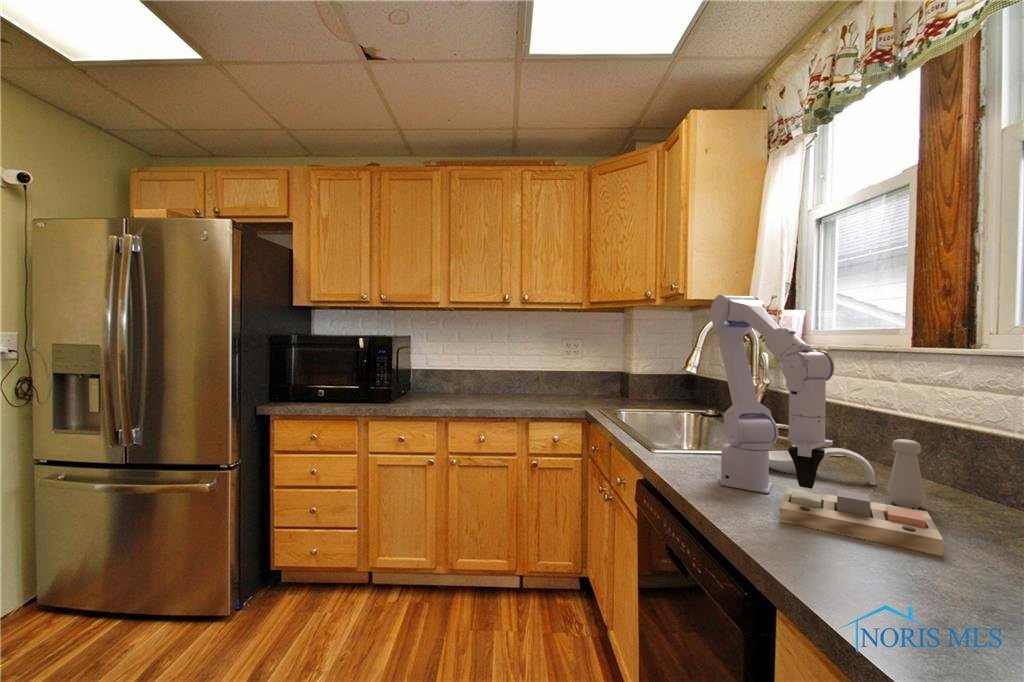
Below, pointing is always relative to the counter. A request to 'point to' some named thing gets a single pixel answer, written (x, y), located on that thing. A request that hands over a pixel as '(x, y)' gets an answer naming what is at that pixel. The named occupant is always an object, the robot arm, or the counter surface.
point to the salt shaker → (906, 475)
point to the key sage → (806, 499)
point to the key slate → (853, 503)
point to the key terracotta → (905, 516)
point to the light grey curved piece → (785, 463)
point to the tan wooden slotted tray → (862, 523)
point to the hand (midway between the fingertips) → (805, 486)
